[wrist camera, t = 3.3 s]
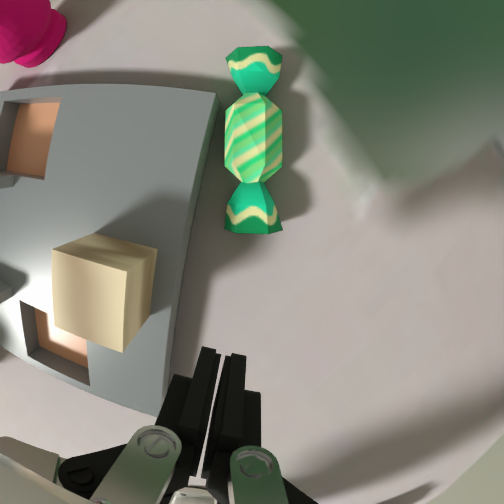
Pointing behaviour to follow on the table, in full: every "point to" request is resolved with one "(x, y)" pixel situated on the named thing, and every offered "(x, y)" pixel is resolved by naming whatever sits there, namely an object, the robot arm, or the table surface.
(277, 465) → the robot arm
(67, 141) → the plate
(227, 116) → the candy
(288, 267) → the table surface
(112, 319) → the block
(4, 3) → the pepper mill
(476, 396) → the table surface
